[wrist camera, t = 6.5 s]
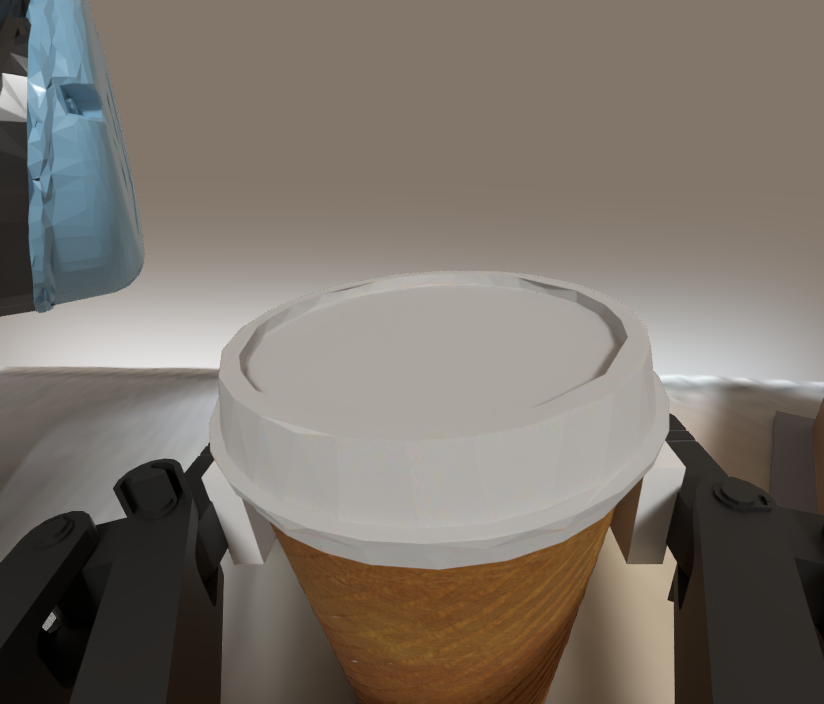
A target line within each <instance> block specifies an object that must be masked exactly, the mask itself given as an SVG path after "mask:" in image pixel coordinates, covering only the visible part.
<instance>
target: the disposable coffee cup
mask: <svg viewBox="0 0 824 704" xmlns="http://www.w3.org/2000/svg"><path fill="white" fill-rule="evenodd" d="M668 432H669V398H668V396H667V394H666V392H665V389H664V387H663V385H662V383H661V381H660V378H659V376H658V375H657V374H656V373H655V372H654V371H653V365H652V354H651V345H650V340H649V336H648V332H647V329H646V326H645V325H644V323H643V322H642V321H641V320H640V319H639V318H638V316H636V314H635V313H634V312H633V311H632V310H630V309H629V308H627V307H626V306H625V305H623V304H622V303H620V302H618V301H616V300H614V299H612V298H610V297H608V296H606V295H604V294H603V293H600V292H598V291H595V290H592V289H589V288H586V287H583V286H580V285H577V284H573V283H569V282H565V281H561V280H555V279H551V278H546V277H540V276H535V275H527V274H519V273H507V272H493V271H435V272H420V273H411V274H399V275H392V276H386V277H380V278H374V279H369V280H363V281H358V282H352V283H348V284H342V285H339V286H335V287H331V288H328V289H324V290H321V291H318V292H315V293H312V294H309V295H306V296H302V297H299V298H297V299H294V300H292V301H289V302H287V303H285V304H283V305H280V306H278V307H276V308H273V309H271V310H269V311H267V312H266V313H264V314H262V315H261V316H259V317H258V318H256V319H255V320H253V321H252V322H250V323H248V324H247V325H245V326H244V327H242V328H241V329H240V330H239V332H238V333H237V334H236V335H235V336H234V337H233V338H232V340H231V341H230V342H229V343H228V344H227V345H226V346H225V348H224V349H223V350H222V355H221V362H220V369H219V398H218V400H217V403H216V406H215V408H214V411H213V414H212V416H211V419H210V422H209V433H210V452H211V454H212V456H213V458H214V460H215V462H216V463H217V465H218V466H219V468H220V470H221V471H222V473H223V474H224V476H225V477H226V479H227V481H228V482H229V484H230V485H231V487H232V489H233V490H234V492H235V493H236V495H237V496H239V497H240V498H242V499H243V500H245V501H246V502H248V503H249V504H251V505H252V506H254V508H255V509H256V511H257V512H259V513H260V514H261V515H262V516H264V517H265V518H266V519H267V520H269V522H270V524H271V526H272V528H273V530H274V532H275V534H276V536H277V538H278V540H279V542H280V544H281V546H282V548H283V550H284V552H285V554H286V556H287V558H288V560H289V562H290V564H291V566H292V568H293V570H294V572H295V574H296V576H297V578H298V580H299V582H300V584H301V586H302V588H303V590H304V592H305V594H306V596H307V598H308V600H309V602H310V604H311V607H312V609H313V611H314V613H315V615H316V617H317V619H318V621H319V622H320V624H321V626H322V628H323V630H324V632H325V634H326V636H327V639H328V640H329V642H330V644H331V646H332V648H333V650H334V652H335V654H336V656H337V658H338V660H339V662H340V664H341V666H342V668H343V670H344V672H345V674H346V676H347V678H348V680H349V682H350V684H351V686H352V688H353V690H354V692H355V694H356V696H357V698H358V700H359V702H360V704H544V702H545V700H546V697H547V694H548V692H549V688H550V686H551V683H552V681H553V678H554V675H555V672H556V670H557V667H558V664H559V661H560V659H561V656H562V654H563V650H564V648H565V646H566V644H567V642H568V639H569V635H570V632H571V628H572V625H573V623H574V620H575V618H576V615H577V612H578V609H579V606H580V604H581V602H582V599H583V597H584V594H585V590H586V587H587V584H588V581H589V578H590V576H591V573H592V571H593V569H594V566H595V564H596V561H597V558H598V554H599V552H600V549H601V547H602V545H603V542H604V539H605V535H606V533H607V530H608V528H609V525H610V523H611V520H612V516H613V512H614V509H615V507H616V504H617V503H618V502H619V501H620V500H621V499H622V498H623V497H624V496H625V495H626V494H627V493H628V492H629V491H630V490H631V489H632V488H633V487H634V486H635V485H636V484H637V483H638V482H639V481H640V480H641V478H642V477H643V476H644V475H645V474H646V473H647V472H648V471H649V470H650V469H651V468H652V467H653V465H654V463H655V461H656V459H657V457H658V454H659V452H660V450H661V448H662V446H663V443H664V441H665V439H666V437H667V435H668Z"/></svg>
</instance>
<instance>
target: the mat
mask: <svg viewBox="0 0 824 704" xmlns="http://www.w3.org/2000/svg"><path fill="white" fill-rule="evenodd" d="M814 423H815V420H814V419H810V418H805V417H801V416H796V415H792V414H787V413H783V412H778V411H777V412H776V415H775V420H774V437H773V453H772V470H771V486H770V496H771V497H772V498H773V499H774V500H775V502H776V504H777V505H778V506H780V507H784V508H789V509H794V510H799V511H804V512H809V513H814V514H818V504H817V489H816V474H815V458H814V443H813V425H814Z"/></svg>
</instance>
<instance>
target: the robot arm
mask: <svg viewBox="0 0 824 704" xmlns="http://www.w3.org/2000/svg"><path fill="white" fill-rule="evenodd" d="M143 264H144V243H143V234H142V227H141V220H140V214H139V208H138V203H137V197H136V192H135V187H134V182H133V177H132V172H131V167H130V162H129V158H128V152H127V148H126V143H125V139H124V134H123V130H122V125H121V121H120V116H119V112H118V107H117V103H116V99H115V95H114V91H113V86H112V82H111V78H110V74H109V70H108V67H107V63H106V59H105V55H104V51H103V48H102V45H101V41H100V38H99V34H98V32H97V30H96V26H95V24H94V21H93V18H92V14H91V7H90V5H89V2H88V0H0V317H1V316H6V315H13V314H19V313H24V312H31V311H36V312H37V311H38V312H39V313H43V312H46V311H49V310H51V309H53V307H54V305H57V304H62V303H67V302H72V301H76V300H81V299H86V298H90V297H95V296H100V295H105V294H109V293H114V292H117V291H119V290H121V289H123V288H126V287H127V286H129V285H130V284H131V283H132V282H133V281H134V280H135V278H137V276H138V275H139V274H140V272H141V270H142V267H143ZM200 454H201V455H200V456H198V457H197V458H196V460H195V461H194V462H193V463H192V465H191V466H190V467H189V468H188V470H187V471H186V472H185V473H184V472H183V469H182V467H181V464H180V463H179V462H177V461H176V460H174V459H160V460H154V461H151V462H148V463H145V464H142V465H140V466H138V467H136V468H134V469H133V470H131V471H129V472H128V473H126V474H125V475H124V476H123V477H122V478H120V479H119V480H118V482H117V483H116V485H115V486H114V488H113V490H114V492H115V494H116V496H117V498H118V500H119V502H120V504H121V506H122V508H123V510H124V512H125V514H126V516H127V518H123V519H119V520H115V521H111V522H107V523H103V524H99V525H95V524H94V522H93V520H92V519H91V517H90V515H89V514H87V513H85V512H84V511H72V512H68V513H64V514H60V515H58V516H55V517H53V518H50V519H48V520H46V521H44V522H43V523H41V524H40V525H38V526H37V527H35V528H34V529H32V530H31V531H30V532H29V533H28V534H27V535H25V536H24V537H23V538H22V539H21V540H20V541H19V542H18V543H17V545H16V546H15V547H14V548H13V549H12V550H11V551H10V553H9V554H8V555H7V556H6V557H5V558H4V559H3V561H2V562H1V563H0V704H220V699H221V662H222V626H223V589H224V575H223V571H222V567H221V565H220V561H221V560H222V558H223V556H224V554H225V552H226V550H227V548H228V549H229V552H230V555H231V557H232V560H233V563H234V564H264V563H265V561H266V558H267V556H268V554H269V551H270V549H271V547H272V544H273V542H274V540H275V538H276V534H275V532H274V530H273V528H272V526H271V524H270V522H269V520H267V519H266V518H265V517H264V516H262V515H261V514H260V513H259V512H257V511H256V509H255V508H254V506H252V505H251V504H249V503H248V502H246V501H245V500H243V499H242V498H240V497H239V496H237V495H236V493H235V492H234V490H233V489H232V487H231V485H230V484H229V482H228V481H227V479H226V477H225V476H224V474H223V473H222V471H221V470H220V468H219V466H218V465H217V463H216V462H215V460H214V458H213V456H212V454H211V452H210V442H209V444H208V446H206V447H205V449H204V450H203V451H202V452H201V453H200ZM610 527H611V530H612V532H613V534H614V536H615V539H616V541H617V543H618V545H619V547H620V550H621V552H622V554H623V556H624V558H625V561H626V563H627V564H663V560H664V556H665V552H666V547H667V546H668V547H669V549H670V551H671V553H672V554H673V556H674V558H675V559H676V561H677V566H676V569H675V573H674V577H673V581H672V585H671V588H670V592H669V596H668V600H669V601H672V602H674V672H675V704H824V515H819V514H814V513H809V512H804V511H799V510H794V509H789V508H784V507H780V506H778V505H777V504H776V502H775V500H774V499H773V498H772V497H771V496H769V495H768V494H767V493H766V492H765V491H763V490H762V489H760V488H758V487H756V486H755V485H753V484H751V483H749V482H746V481H743V480H740V479H737V478H734V477H728V475H727V474H726V473H725V472H724V471H723V470H722V469H721V468H720V466H719V465H718V464H717V463H716V462H715V461H714V460H713V459H712V457H711V456H710V455H709V454H708V453H707V452H706V451H705V450H704V448H703V447H702V446H701V445H700V444H699V443H698V442H696V441H695V438H694V437H693V436H692V435H691V434H690V433H689V432H688V431H686V428H685V427H684V426H683V425H682V424H681V423H680V421H679V420H678V419H677V418H676V417H675V416H674V415H672V414H670V413H669V432H668V435H667V437H666V439H665V441H664V443H663V446H662V448H661V450H660V452H659V454H658V457H657V459H656V461H655V463H654V465H653V467H652V468H651V469H650V470H649V471H648V472H647V473H646V474H645V475H644V476H643V477H642V478H641V480H640V481H639V482H638V483H637V484H636V485H635V486H634V487H633V488H632V489H631V490H630V491H629V492H628V493H627V494H626V495H625V496H624V497H623V498H622V499H621V500H620V501H619V502H618V503H617V504H616V507H615V509H614V512H613V516H612V520H611V523H610ZM51 612H53V614H54V615H55V617H56V619H55V621H54V622H53V624H52V626H51V627H50V628H49V629H48V630H47V631H45V630H44V629H43V628H42V626H43V624H44V622H45V621H46V619H47V618H48V616H49V615H50V613H51Z"/></svg>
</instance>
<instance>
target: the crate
mask: <svg viewBox="0 0 824 704" xmlns="http://www.w3.org/2000/svg"><path fill="white" fill-rule="evenodd" d="M813 443H814V458H815V474H816V489H817V504H818V514H819V515H824V399H823V402H822V405H821V407H820V410H819V412H818V415H817V418H816V420H815V423H814V425H813Z"/></svg>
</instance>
